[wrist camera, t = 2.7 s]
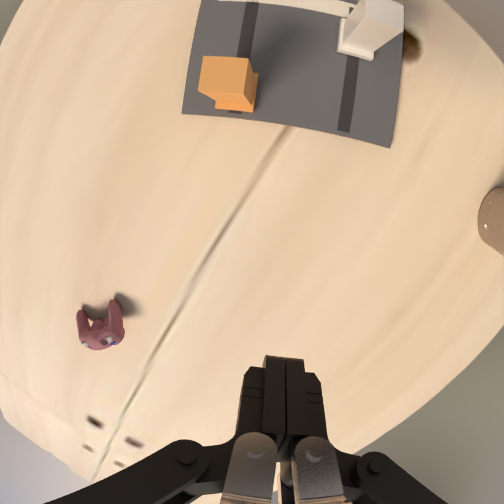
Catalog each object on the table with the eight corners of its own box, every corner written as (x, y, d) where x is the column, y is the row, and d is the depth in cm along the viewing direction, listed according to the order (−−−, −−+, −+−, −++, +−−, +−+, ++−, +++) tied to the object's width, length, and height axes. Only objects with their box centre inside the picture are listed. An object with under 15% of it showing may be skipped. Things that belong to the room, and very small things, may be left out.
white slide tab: (373, 30, 23) (406, 0, 14) (370, 61, 25) (405, 38, 16) (339, 20, 23) (363, -15, 14) (336, 51, 25) (361, 23, 16)
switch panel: (400, 20, 23) (403, 17, 22) (387, 147, 30) (390, 148, 29) (207, -14, 23) (205, -18, 22) (184, 114, 30) (181, 113, 29)
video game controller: (93, 320, 45) (87, 355, 41) (76, 308, 42) (68, 344, 37) (132, 309, 43) (127, 349, 39) (114, 295, 40) (107, 336, 35)
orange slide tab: (258, 75, 27) (253, 50, 18) (253, 112, 28) (245, 103, 19) (222, 71, 27) (201, 48, 18) (216, 108, 28) (193, 99, 19)
